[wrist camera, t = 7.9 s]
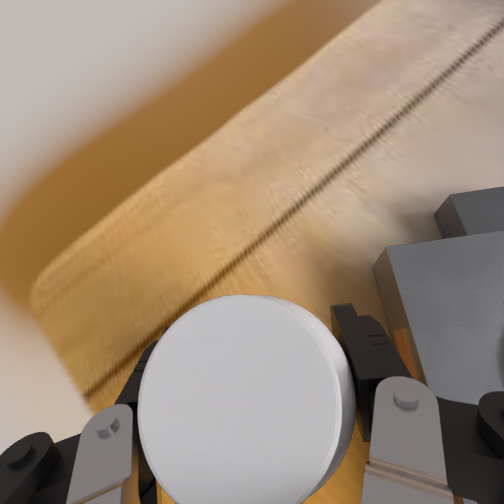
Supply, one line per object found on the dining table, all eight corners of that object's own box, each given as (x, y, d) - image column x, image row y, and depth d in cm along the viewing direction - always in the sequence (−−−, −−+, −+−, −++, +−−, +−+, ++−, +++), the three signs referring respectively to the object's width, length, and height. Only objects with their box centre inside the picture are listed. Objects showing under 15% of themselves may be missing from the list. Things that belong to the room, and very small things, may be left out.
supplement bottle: (316, 318, 15) (336, 237, 6) (347, 439, 13) (441, 564, 4) (216, 338, 16) (105, 288, 7) (229, 458, 14) (91, 612, 5)
